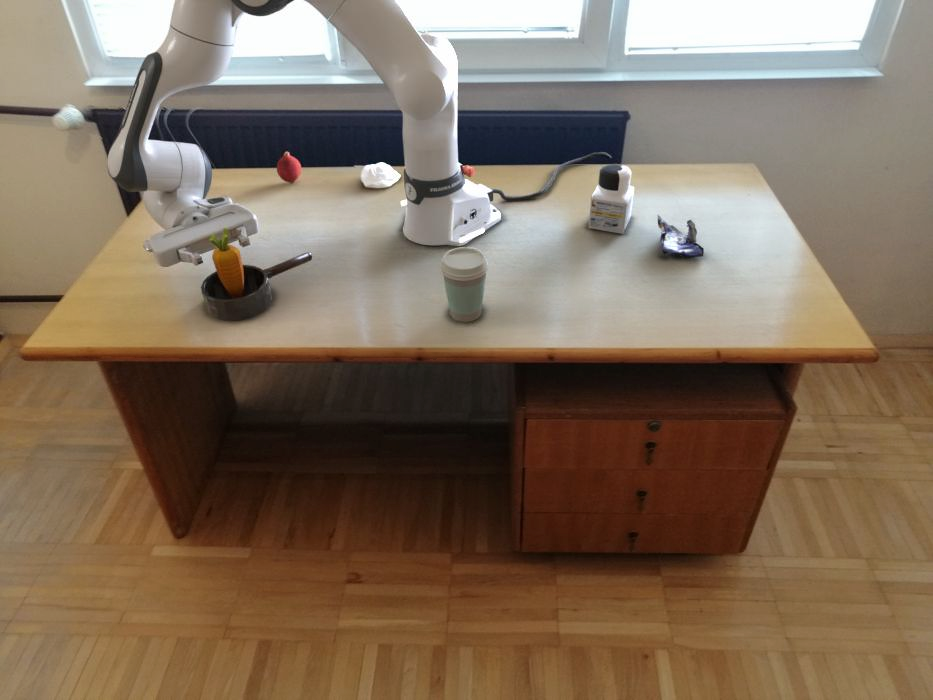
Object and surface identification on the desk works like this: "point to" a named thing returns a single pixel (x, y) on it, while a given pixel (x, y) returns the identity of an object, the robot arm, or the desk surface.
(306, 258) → the pan handle
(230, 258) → the carrot
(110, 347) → the desk surface
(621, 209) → the container
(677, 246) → the snack package
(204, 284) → the pan
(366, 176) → the white lumpy piece
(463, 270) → the coffee cup
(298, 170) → the onion
